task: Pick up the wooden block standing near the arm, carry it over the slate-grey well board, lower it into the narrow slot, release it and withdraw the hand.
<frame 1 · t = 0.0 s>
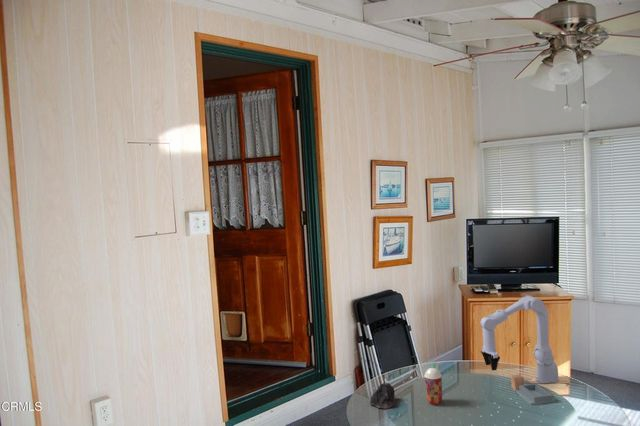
hand: (491, 367, 263), 10 cm above the table, fingers open, 7 cm apart
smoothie: (435, 403, 251), on the table
wooden block: (517, 388, 259), on the table
crystal cluster: (383, 404, 256), on the table
well board: (535, 396, 248), on the table
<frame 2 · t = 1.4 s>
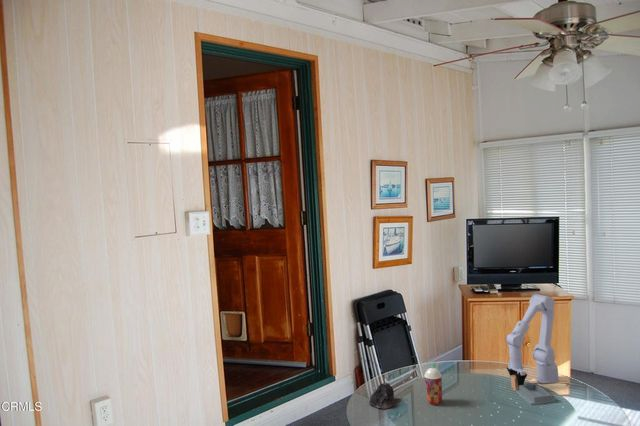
hand: (517, 384, 259), 2 cm above the table, fingers open, 7 cm apart
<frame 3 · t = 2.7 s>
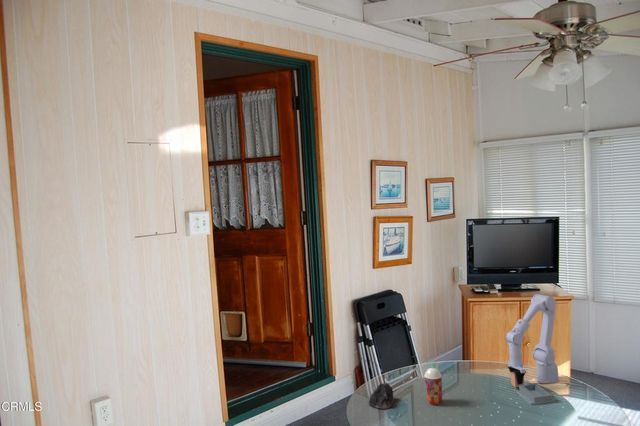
hand: (517, 382, 259), 3 cm above the table, fingers closed on wooden block, 4 cm apart
wooden block: (517, 385, 259), point 1 cm above the table, touching gripper
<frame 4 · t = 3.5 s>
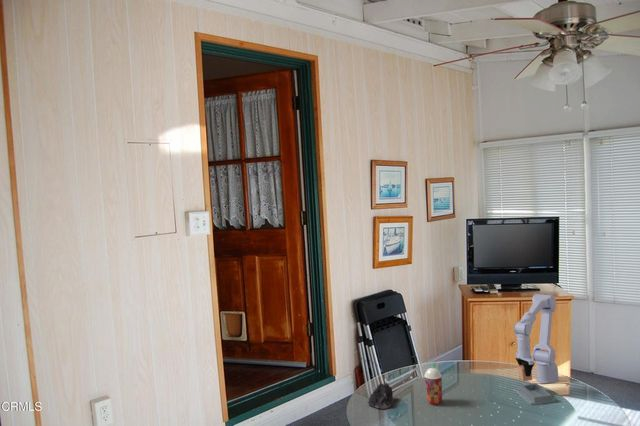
hand: (525, 374, 253), 9 cm above the table, fingers closed on wooden block, 4 cm apart
wooden block: (525, 378, 253), point 7 cm above the table, touching gripper
everything else where it was.
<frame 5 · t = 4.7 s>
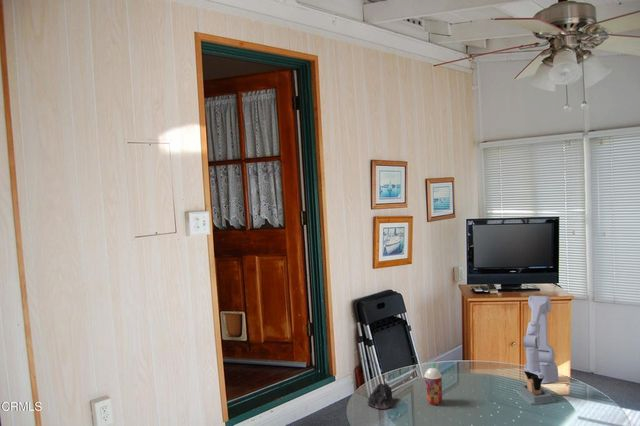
hand: (534, 387, 248), 4 cm above the table, fingers closed on wooden block, 4 cm apart
wooden block: (534, 392, 248), point 2 cm above the table, touching gripper
when the fingers open (4 cm above the table, at t = 5.3 s): wooden block stays where it is, resting on well board.
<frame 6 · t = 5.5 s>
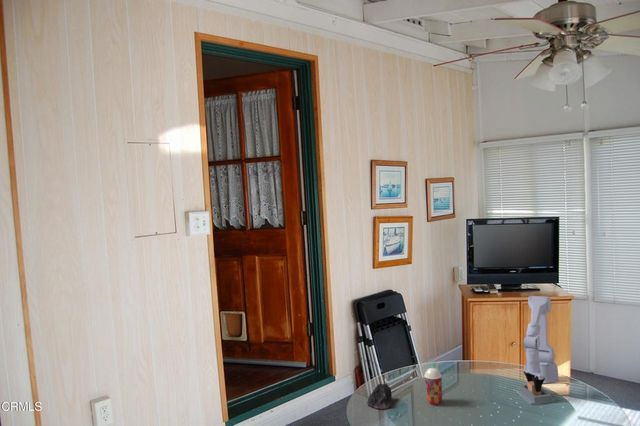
hand: (534, 388, 248), 4 cm above the table, fingers open, 6 cm apart
wooden block: (534, 395, 248), point 1 cm above the table, touching well board
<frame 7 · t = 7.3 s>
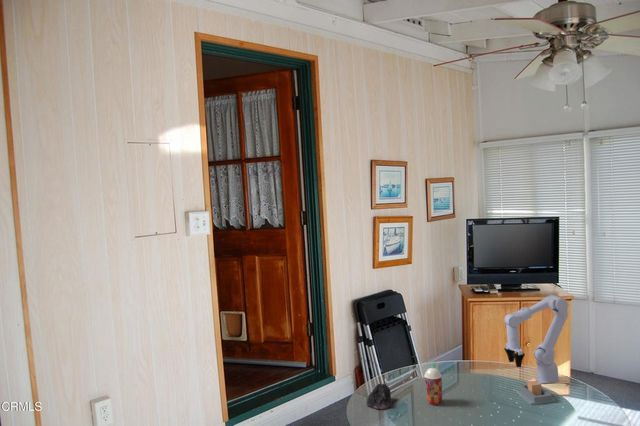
hand: (515, 364, 264), 10 cm above the table, fingers open, 7 cm apart
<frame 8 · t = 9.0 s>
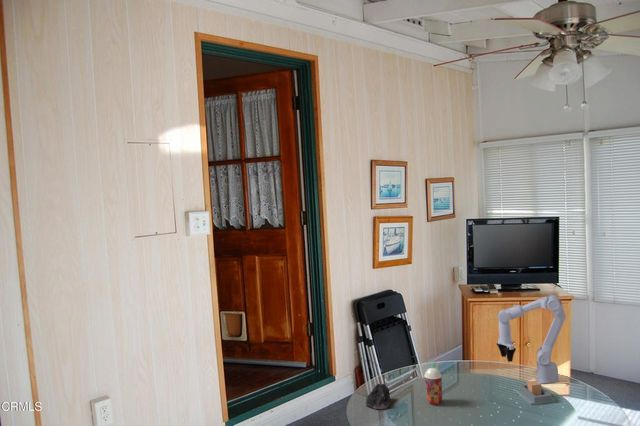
hand: (506, 358, 272), 10 cm above the table, fingers open, 7 cm apart
at the end: wooden block inside the target area on the well board (0.3 cm from its centre), point 0.8 cm above the well board's base; wooden block tilted 0°; the gripper is holding nothing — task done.
